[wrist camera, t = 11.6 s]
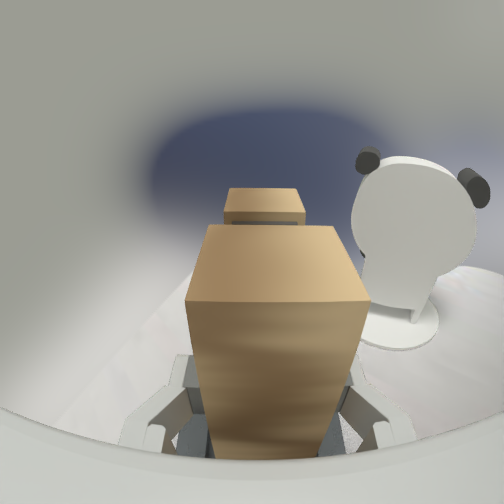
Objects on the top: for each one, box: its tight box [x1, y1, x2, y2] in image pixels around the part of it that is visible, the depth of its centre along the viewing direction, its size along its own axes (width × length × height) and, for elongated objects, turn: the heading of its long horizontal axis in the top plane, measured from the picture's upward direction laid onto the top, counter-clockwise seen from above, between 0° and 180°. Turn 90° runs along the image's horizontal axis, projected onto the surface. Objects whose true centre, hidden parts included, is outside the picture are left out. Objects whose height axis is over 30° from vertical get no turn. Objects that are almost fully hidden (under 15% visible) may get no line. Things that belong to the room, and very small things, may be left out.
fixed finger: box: [224, 188, 306, 226], centre depth 19 cm, size 4×4×12 cm
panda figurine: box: [351, 146, 490, 351], centre depth 25 cm, size 12×11×15 cm
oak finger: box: [185, 225, 371, 460], centre depth 11 cm, size 4×4×12 cm
